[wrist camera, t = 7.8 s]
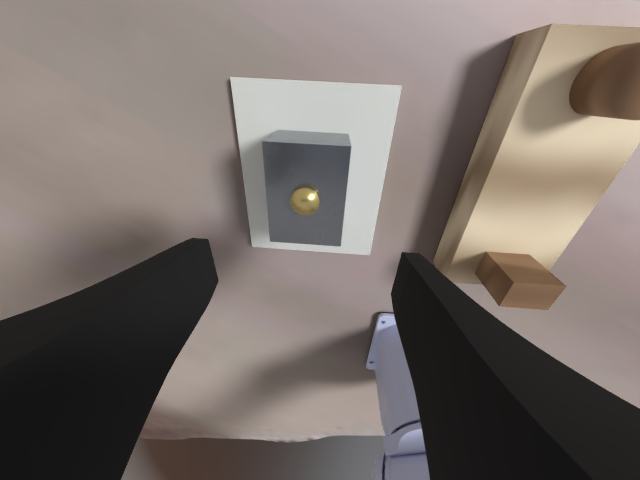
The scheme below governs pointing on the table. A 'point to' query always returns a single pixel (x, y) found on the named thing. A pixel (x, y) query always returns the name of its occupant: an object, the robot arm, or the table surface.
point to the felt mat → (318, 116)
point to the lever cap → (306, 186)
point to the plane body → (543, 159)
